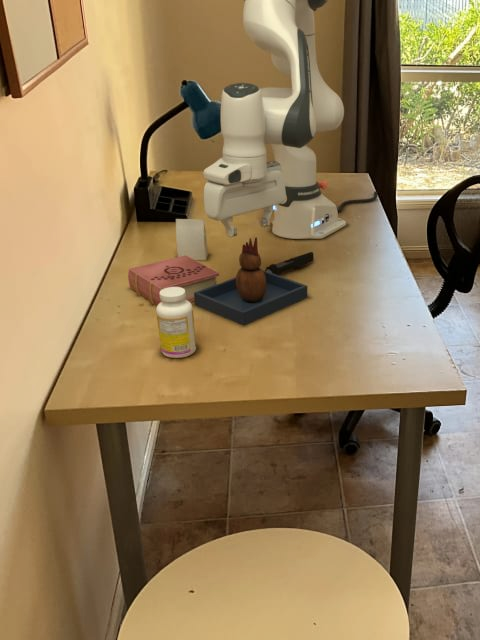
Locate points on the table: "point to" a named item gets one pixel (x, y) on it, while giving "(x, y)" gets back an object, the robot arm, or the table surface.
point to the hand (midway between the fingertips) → (248, 230)
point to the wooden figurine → (250, 274)
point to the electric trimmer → (290, 264)
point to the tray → (235, 308)
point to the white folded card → (191, 238)
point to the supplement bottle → (175, 323)
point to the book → (171, 277)
